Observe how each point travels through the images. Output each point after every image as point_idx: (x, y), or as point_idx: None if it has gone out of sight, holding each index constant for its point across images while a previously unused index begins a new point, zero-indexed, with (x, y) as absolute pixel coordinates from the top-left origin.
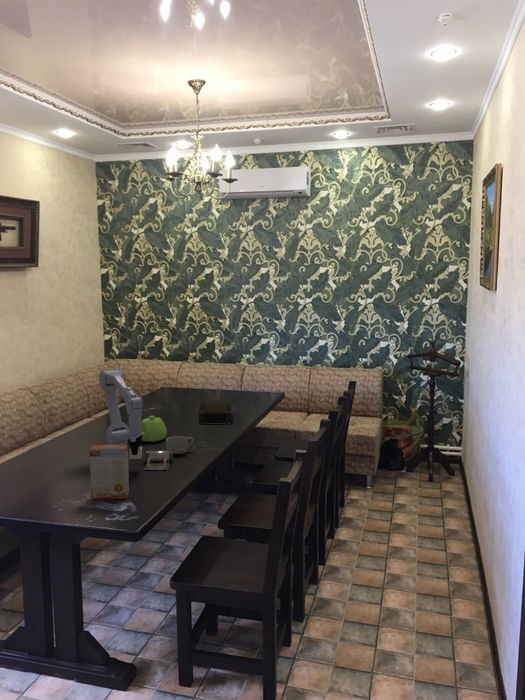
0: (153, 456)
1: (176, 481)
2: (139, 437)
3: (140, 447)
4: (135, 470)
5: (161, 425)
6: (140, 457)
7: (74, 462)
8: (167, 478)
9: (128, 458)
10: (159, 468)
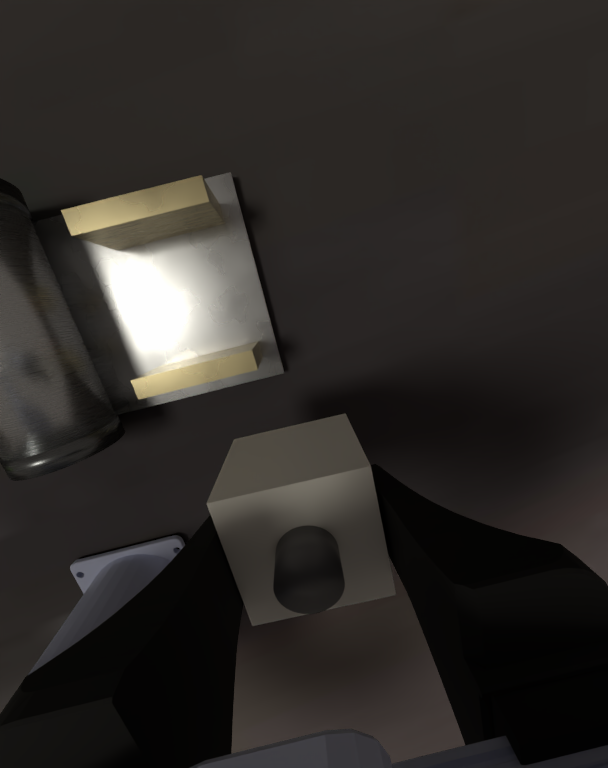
0: (76, 372)
1: (487, 4)
2: (163, 702)
3: (283, 498)
4: None
5: None
6: (346, 420)
7: None
8: (421, 121)
9: (83, 562)
10: (233, 262)
